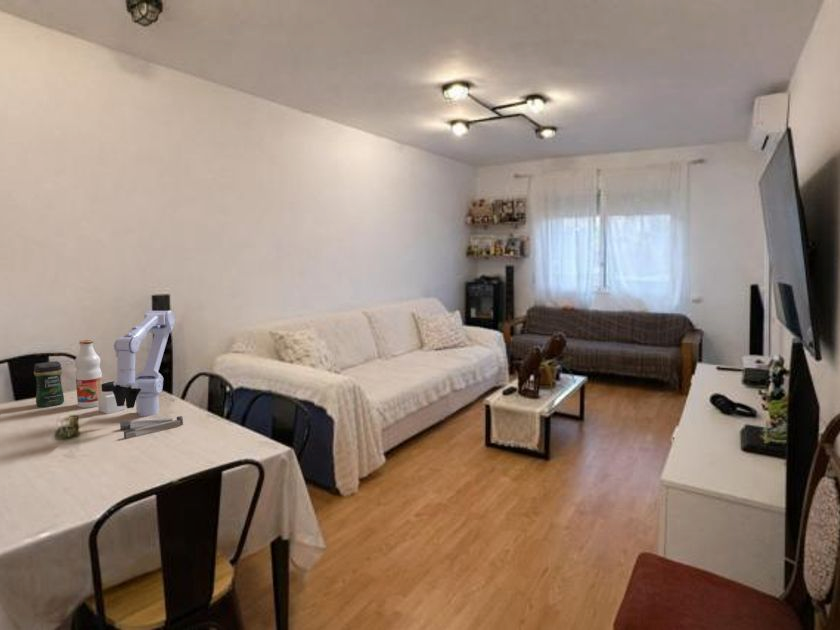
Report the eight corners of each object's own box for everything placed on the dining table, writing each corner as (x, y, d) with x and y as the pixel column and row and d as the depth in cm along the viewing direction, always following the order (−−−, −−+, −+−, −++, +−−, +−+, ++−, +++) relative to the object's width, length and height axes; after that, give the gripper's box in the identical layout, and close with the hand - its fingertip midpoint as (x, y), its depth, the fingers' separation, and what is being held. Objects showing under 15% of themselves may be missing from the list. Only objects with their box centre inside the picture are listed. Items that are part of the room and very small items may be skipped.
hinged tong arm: (173, 424, 185) (172, 418, 185) (172, 425, 184) (172, 419, 183) (121, 428, 180) (121, 422, 180) (120, 430, 179) (120, 423, 179)
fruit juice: (109, 403, 217) (104, 339, 213) (87, 409, 208) (82, 343, 205) (94, 400, 220) (89, 338, 217) (72, 406, 211) (67, 341, 208)
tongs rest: (108, 434, 179) (107, 422, 178) (172, 420, 194) (172, 409, 194) (123, 447, 166) (122, 435, 166) (191, 431, 182) (190, 419, 181)
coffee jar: (39, 409, 208) (35, 365, 206) (34, 405, 213) (30, 362, 211) (67, 403, 216) (63, 361, 213) (61, 400, 221) (57, 359, 219)
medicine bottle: (125, 409, 208) (123, 381, 206) (107, 414, 202) (104, 385, 200) (116, 406, 211) (114, 379, 210) (98, 411, 205) (96, 382, 204)
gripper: (105, 369, 184) (104, 406, 183) (123, 371, 175) (122, 410, 175) (125, 368, 189) (125, 404, 189) (144, 370, 181) (143, 407, 181)
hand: (125, 407), depth 182 cm, fingers open, 7 cm apart
